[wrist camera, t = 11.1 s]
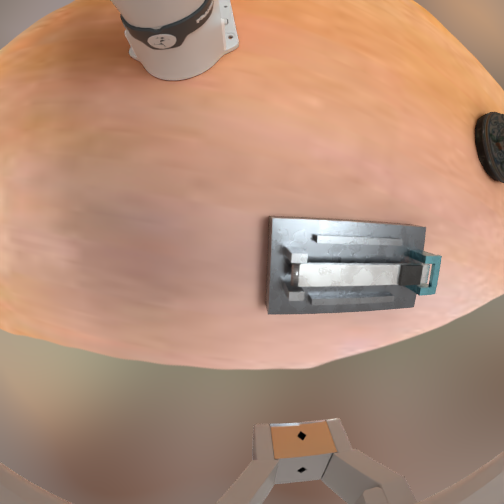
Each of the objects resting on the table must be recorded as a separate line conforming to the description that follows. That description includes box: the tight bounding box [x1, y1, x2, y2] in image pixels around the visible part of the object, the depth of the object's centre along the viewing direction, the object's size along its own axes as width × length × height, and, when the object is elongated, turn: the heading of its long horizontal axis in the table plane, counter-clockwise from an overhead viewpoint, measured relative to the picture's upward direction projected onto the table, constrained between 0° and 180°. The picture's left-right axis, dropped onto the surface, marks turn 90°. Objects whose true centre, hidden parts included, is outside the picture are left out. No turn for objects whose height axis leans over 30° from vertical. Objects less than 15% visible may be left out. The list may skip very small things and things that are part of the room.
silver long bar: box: [291, 263, 430, 287], centre depth 36 cm, size 3×23×2 cm, turn 88°
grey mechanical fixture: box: [266, 216, 442, 314], centre depth 39 cm, size 14×27×8 cm, turn 88°
